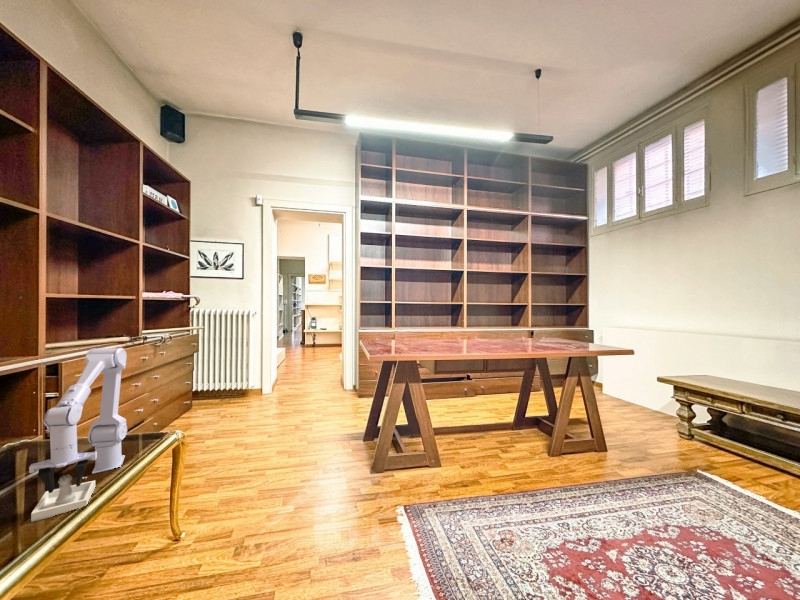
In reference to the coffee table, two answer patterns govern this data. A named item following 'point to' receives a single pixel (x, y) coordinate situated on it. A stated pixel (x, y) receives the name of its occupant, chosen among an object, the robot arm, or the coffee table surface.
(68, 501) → the rook chess piece
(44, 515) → the tray
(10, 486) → the coffee table surface
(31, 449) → the coffee table surface
